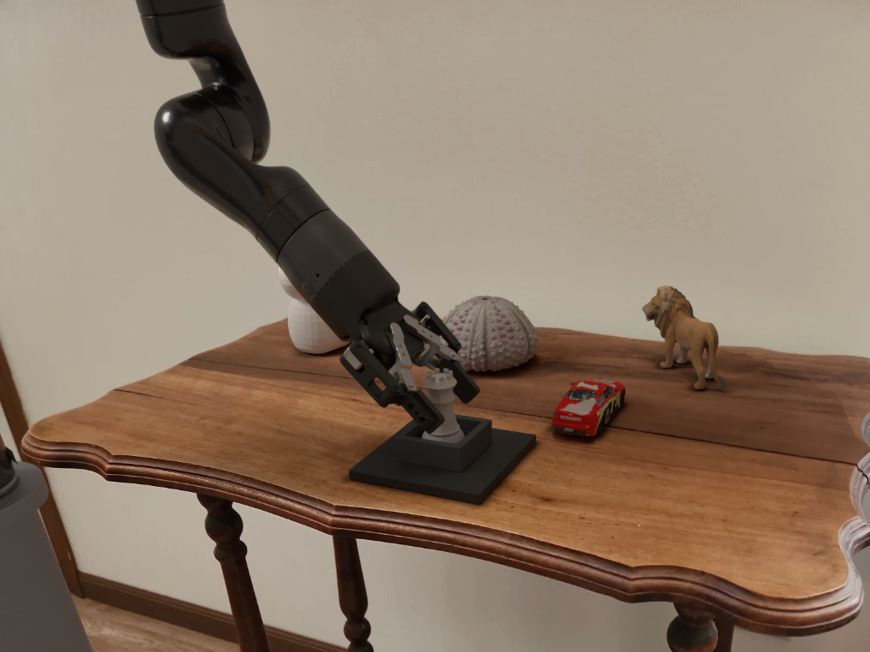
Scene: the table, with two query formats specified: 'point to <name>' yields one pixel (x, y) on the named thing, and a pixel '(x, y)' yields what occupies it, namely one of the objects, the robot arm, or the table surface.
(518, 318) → the sea urchin shell
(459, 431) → the rook chess piece
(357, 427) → the table surface
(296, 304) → the cat figurine
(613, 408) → the race car
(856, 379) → the table surface
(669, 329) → the lion figurine
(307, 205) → the robot arm
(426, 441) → the socket pad
